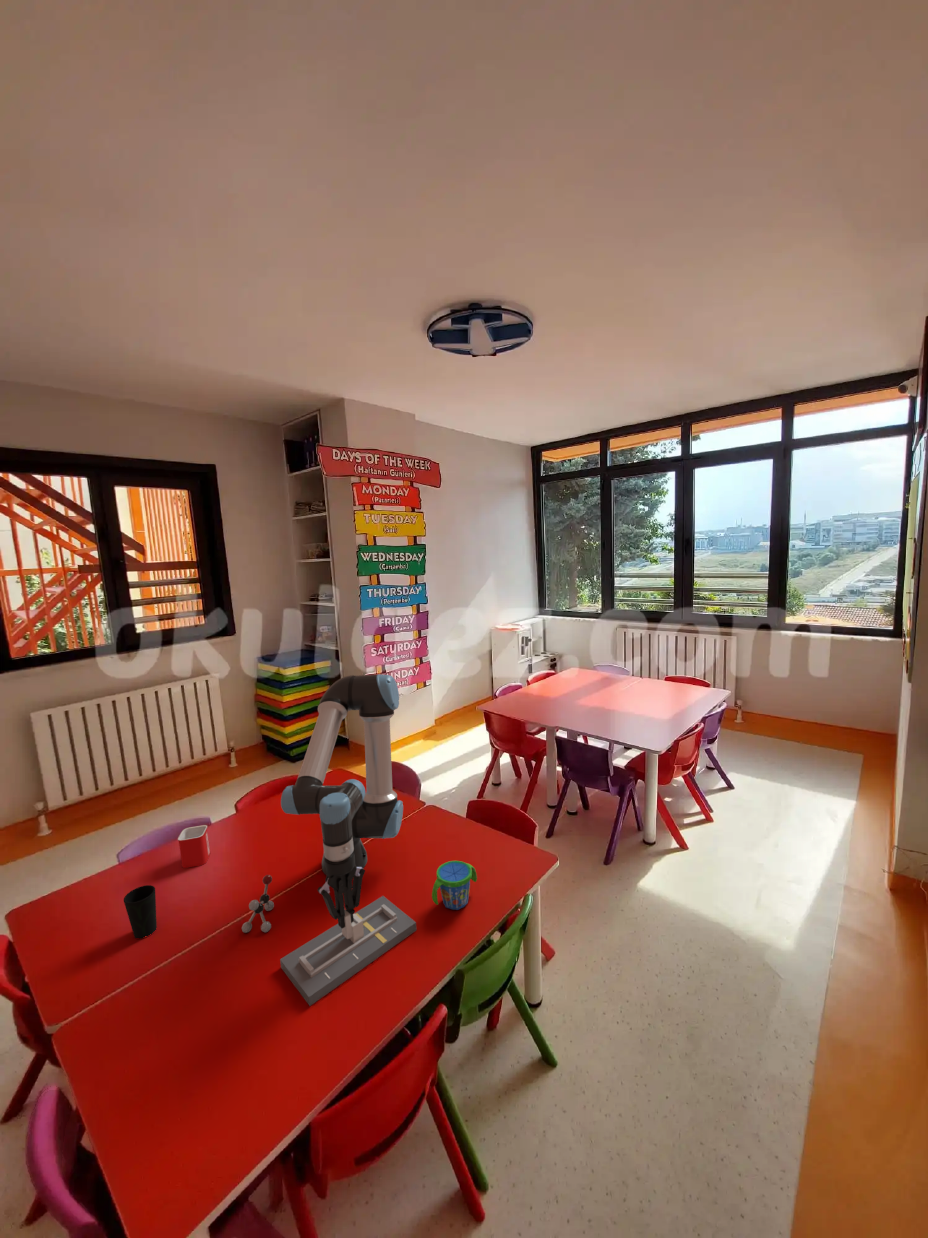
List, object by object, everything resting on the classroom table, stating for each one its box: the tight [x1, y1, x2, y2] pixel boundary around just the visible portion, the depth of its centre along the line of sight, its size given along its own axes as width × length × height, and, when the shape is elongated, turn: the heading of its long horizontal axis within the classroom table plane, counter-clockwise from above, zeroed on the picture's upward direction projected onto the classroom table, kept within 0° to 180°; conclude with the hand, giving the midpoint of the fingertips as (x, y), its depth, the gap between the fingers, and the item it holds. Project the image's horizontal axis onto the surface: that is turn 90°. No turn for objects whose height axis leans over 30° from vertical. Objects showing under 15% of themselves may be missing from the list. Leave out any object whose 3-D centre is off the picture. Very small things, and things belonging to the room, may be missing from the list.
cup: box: [123, 884, 158, 939], centre depth 144 cm, size 8×8×12 cm
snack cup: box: [431, 860, 478, 911], centre depth 149 cm, size 16×10×10 cm
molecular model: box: [241, 874, 275, 934], centre depth 146 cm, size 8×12×11 cm
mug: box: [177, 824, 211, 869], centre depth 179 cm, size 12×8×11 cm
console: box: [279, 895, 418, 1007], centre depth 134 cm, size 16×32×4 cm, turn 134°
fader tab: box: [349, 912, 364, 943], centre depth 135 cm, size 4×3×5 cm
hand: (347, 935), depth 133 cm, fingers closed
